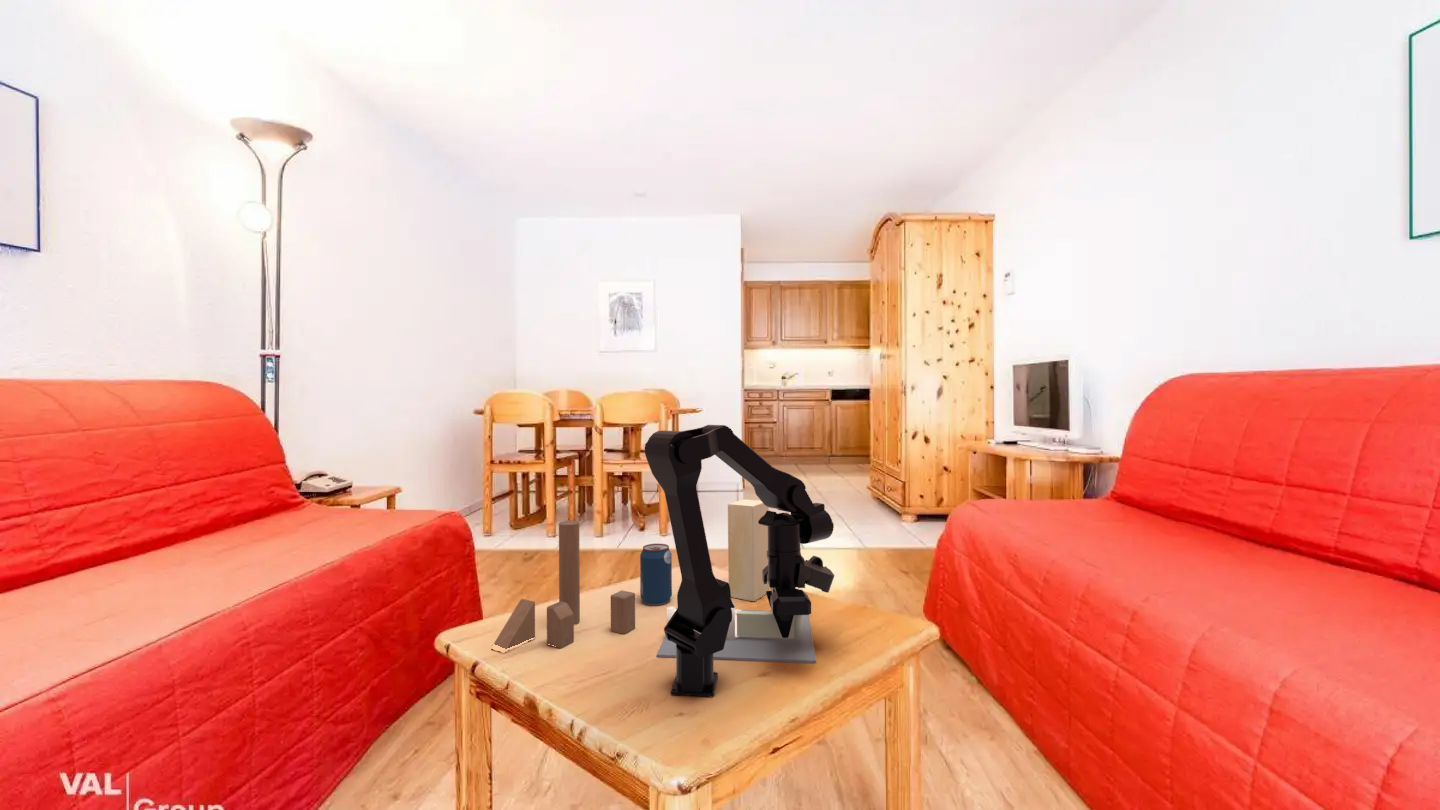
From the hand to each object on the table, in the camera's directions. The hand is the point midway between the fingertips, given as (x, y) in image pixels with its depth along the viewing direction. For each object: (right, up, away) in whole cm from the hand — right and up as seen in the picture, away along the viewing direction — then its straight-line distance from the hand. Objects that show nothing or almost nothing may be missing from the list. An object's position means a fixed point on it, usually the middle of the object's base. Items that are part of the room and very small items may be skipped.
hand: (785, 636), depth 96 cm
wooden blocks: (-40, -3, +5) cm, 40 cm away
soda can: (-26, -3, +25) cm, 36 cm away
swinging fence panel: (-2, -1, +3) cm, 4 cm away
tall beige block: (-5, -3, +29) cm, 29 cm away
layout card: (-8, -2, +7) cm, 11 cm away
